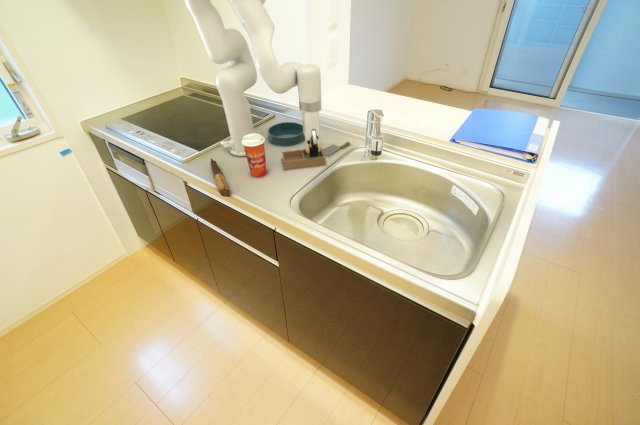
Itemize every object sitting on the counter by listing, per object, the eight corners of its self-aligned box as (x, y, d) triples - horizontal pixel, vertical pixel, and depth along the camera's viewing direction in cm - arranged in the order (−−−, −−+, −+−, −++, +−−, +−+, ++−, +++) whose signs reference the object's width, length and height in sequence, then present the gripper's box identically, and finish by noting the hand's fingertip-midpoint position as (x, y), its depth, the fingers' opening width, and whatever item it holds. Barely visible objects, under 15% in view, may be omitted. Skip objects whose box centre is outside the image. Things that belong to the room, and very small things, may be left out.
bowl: (269, 147, 130) (268, 139, 128) (267, 131, 142) (266, 124, 140) (308, 143, 132) (307, 135, 130) (302, 127, 144) (302, 120, 142)
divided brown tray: (284, 169, 116) (283, 161, 114) (283, 159, 122) (282, 151, 120) (325, 165, 118) (324, 157, 116) (321, 155, 124) (320, 147, 122)
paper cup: (249, 180, 111) (242, 144, 102) (247, 169, 117) (240, 134, 108) (271, 176, 113) (266, 140, 104) (268, 166, 118) (262, 131, 110)
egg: (306, 157, 116) (306, 147, 114) (305, 152, 120) (304, 142, 117) (321, 155, 117) (321, 145, 114) (319, 150, 120) (319, 140, 118)
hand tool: (232, 191, 103) (228, 199, 104) (216, 157, 122) (212, 164, 122) (223, 187, 101) (218, 195, 101) (208, 154, 119) (204, 160, 120)
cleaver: (318, 153, 126) (327, 157, 123) (318, 150, 125) (327, 154, 122) (341, 141, 133) (350, 144, 130) (341, 138, 132) (350, 141, 129)
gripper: (296, 97, 113) (300, 144, 124) (302, 115, 100) (306, 165, 111) (317, 95, 114) (319, 142, 125) (326, 112, 101) (327, 162, 112)
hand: (313, 152), depth 118 cm, fingers closed on egg, 4 cm apart
